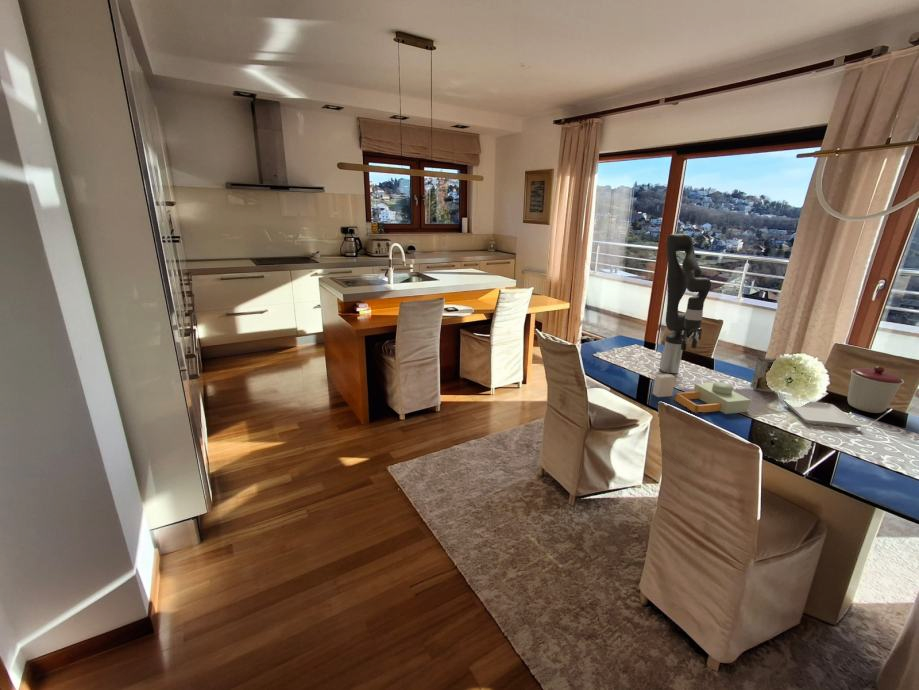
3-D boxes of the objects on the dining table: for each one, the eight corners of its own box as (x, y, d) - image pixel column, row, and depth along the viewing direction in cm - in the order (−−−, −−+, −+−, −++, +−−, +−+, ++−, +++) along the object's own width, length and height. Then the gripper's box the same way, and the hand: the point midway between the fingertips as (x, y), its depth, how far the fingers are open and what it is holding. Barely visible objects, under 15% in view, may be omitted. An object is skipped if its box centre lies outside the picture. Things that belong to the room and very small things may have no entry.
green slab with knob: (669, 397, 207) (673, 379, 204) (713, 393, 213) (717, 376, 210) (700, 416, 189) (704, 397, 186) (747, 411, 194) (752, 393, 191)
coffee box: (770, 387, 221) (778, 358, 216) (775, 392, 215) (783, 362, 210) (750, 385, 223) (757, 356, 218) (754, 390, 217) (762, 360, 212)
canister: (886, 406, 203) (902, 365, 197) (895, 421, 189) (913, 377, 182) (837, 396, 213) (851, 356, 206) (842, 409, 199) (857, 367, 192)
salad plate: (860, 432, 180) (863, 425, 178) (803, 426, 183) (806, 419, 182) (830, 409, 199) (832, 403, 198) (779, 404, 203) (781, 398, 202)
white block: (652, 393, 210) (655, 374, 207) (666, 392, 212) (670, 373, 209) (657, 397, 207) (661, 378, 204) (671, 395, 208) (675, 377, 205)
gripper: (695, 315, 219) (690, 345, 224) (677, 318, 213) (672, 349, 217) (709, 318, 213) (704, 349, 218) (691, 320, 206) (686, 353, 211)
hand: (688, 349), depth 217 cm, fingers open, 8 cm apart
